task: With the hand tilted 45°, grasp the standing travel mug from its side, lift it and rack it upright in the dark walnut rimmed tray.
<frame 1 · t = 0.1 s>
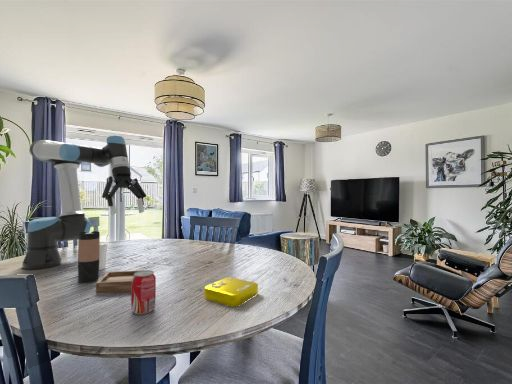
hand: (128, 213, 120), 28 cm above the table, tool tilted 20°, fingers open, 13 cm apart
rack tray: (121, 286, 106), on the table
travel mug: (88, 280, 113), on the table
soda can: (143, 311, 85), on the table
candle holder: (95, 269, 129), on the table
element tile: (231, 297, 98), on the table
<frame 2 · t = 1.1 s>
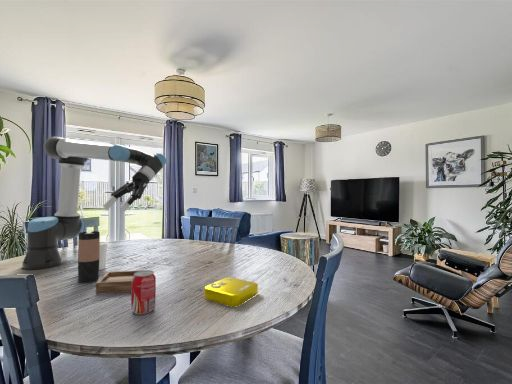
hand: (113, 208, 121), 30 cm above the table, tool tilted 45°, fingers open, 13 cm apart
nothing on the table moved.
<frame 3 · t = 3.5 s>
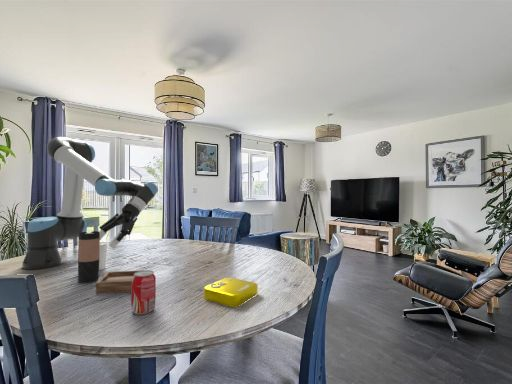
hand: (101, 245, 116), 14 cm above the table, tool tilted 45°, fingers open, 13 cm apart
nothing on the table moved.
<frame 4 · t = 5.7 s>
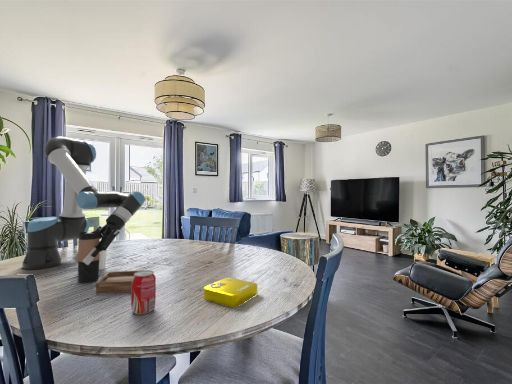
hand: (79, 261, 110), 9 cm above the table, tool tilted 45°, fingers closed on travel mug, 7 cm apart
travel mug: (88, 280, 113), on the table, touching gripper
everything else where it was.
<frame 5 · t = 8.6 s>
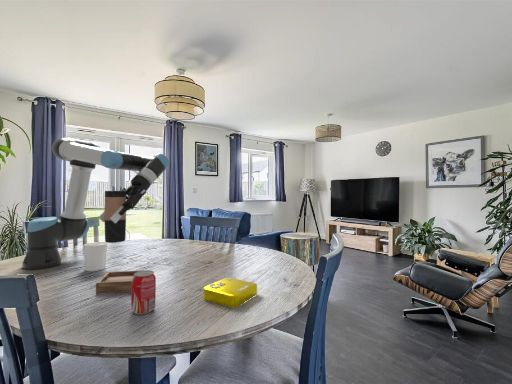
hand: (106, 220, 105), 26 cm above the table, tool tilted 45°, fingers closed on travel mug, 7 cm apart
travel mug: (115, 241, 108), point 17 cm above the table, touching gripper
everything else where it was.
when the fingers open (12 cm above the table, at t = 11.6 s): travel mug drops 1 cm, resting on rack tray.
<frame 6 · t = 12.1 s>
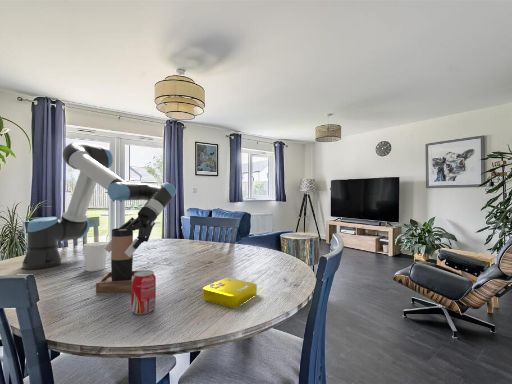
hand: (116, 252, 104), 14 cm above the table, tool tilted 45°, fingers open, 13 cm apart
travel mug: (121, 280, 107), point 2 cm above the table, touching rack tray
everything else where it was.
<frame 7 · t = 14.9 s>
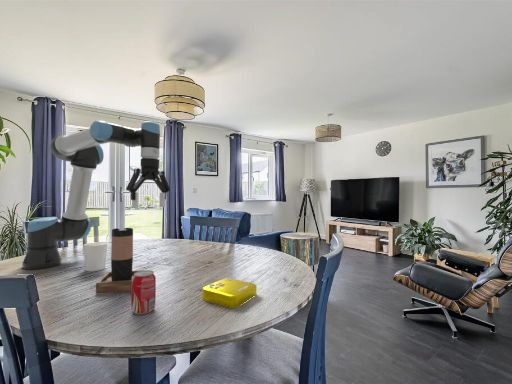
hand: (149, 207, 117), 30 cm above the table, tool pointing down, fingers open, 13 cm apart
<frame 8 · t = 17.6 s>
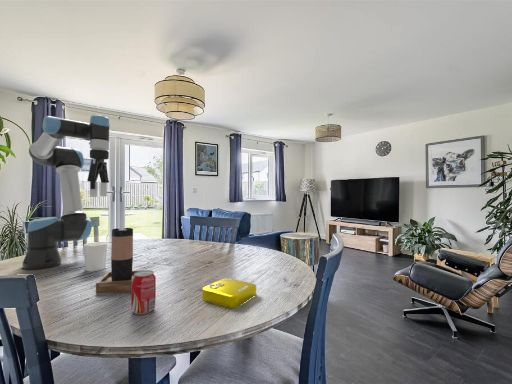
hand: (98, 196, 123), 35 cm above the table, tool pointing down, fingers open, 13 cm apart
at the end: travel mug inside the target area on the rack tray (0.2 cm from its centre), point 2.3 cm above the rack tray's base; travel mug tilted 0°; the gripper is holding nothing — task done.
